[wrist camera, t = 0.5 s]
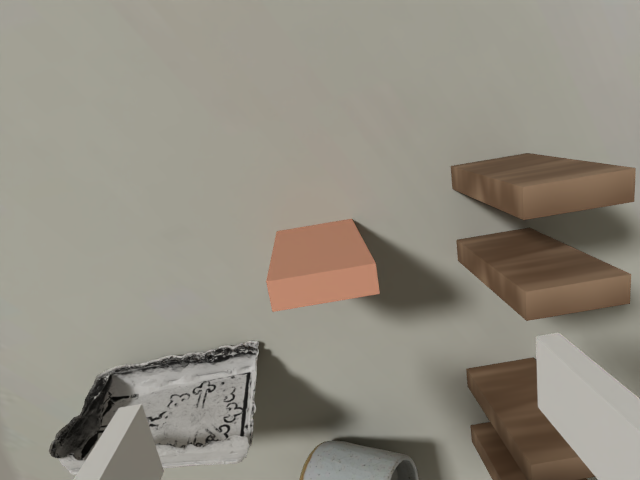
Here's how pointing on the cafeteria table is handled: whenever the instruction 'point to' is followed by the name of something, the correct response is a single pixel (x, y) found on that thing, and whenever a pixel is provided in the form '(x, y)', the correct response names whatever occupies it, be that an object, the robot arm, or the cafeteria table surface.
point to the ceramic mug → (356, 463)
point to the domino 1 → (320, 266)
